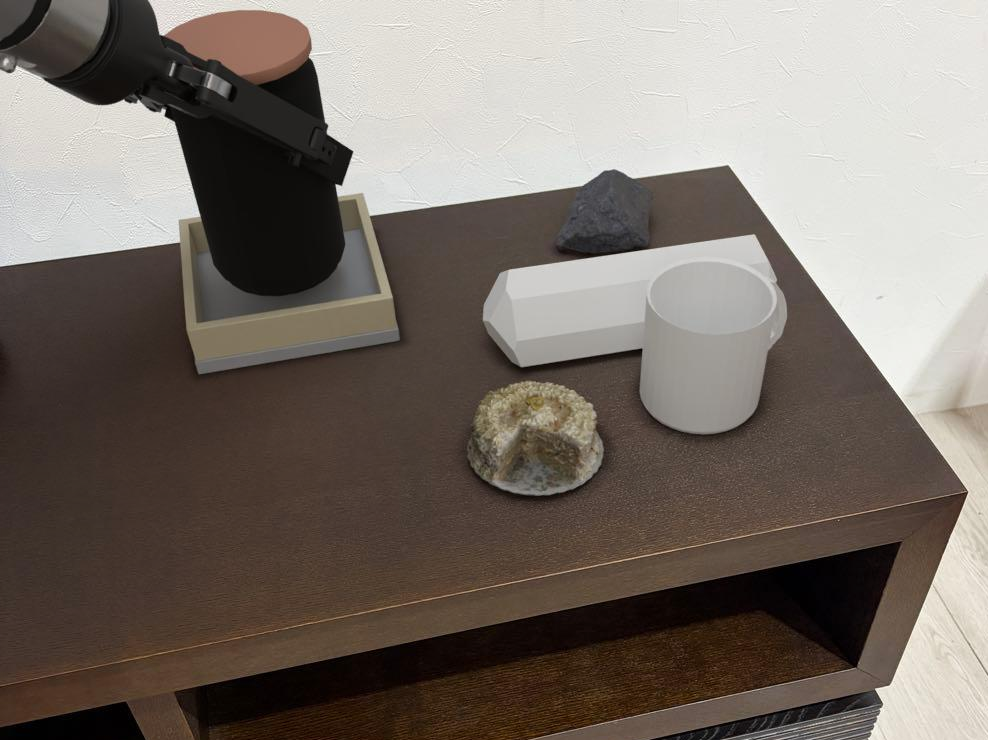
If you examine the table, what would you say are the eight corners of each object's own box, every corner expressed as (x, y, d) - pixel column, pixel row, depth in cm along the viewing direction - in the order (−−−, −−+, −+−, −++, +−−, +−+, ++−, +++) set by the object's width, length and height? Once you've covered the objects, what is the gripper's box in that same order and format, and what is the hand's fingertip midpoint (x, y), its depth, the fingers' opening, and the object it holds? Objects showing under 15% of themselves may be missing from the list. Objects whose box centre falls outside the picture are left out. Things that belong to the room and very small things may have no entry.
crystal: (496, 353, 81) (801, 306, 84) (478, 264, 82) (779, 221, 86) (490, 388, 88) (772, 343, 92) (473, 306, 90) (751, 264, 93)
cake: (455, 424, 83) (450, 365, 79) (583, 404, 84) (584, 345, 80) (481, 510, 76) (477, 449, 72) (621, 486, 77) (623, 425, 73)
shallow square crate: (198, 374, 86) (185, 331, 83) (189, 261, 96) (177, 219, 93) (400, 340, 89) (394, 297, 85) (370, 233, 99) (364, 191, 96)
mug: (672, 449, 80) (683, 348, 73) (619, 375, 85) (625, 274, 78) (814, 406, 83) (838, 304, 76) (754, 337, 88) (771, 237, 81)
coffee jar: (364, 233, 92) (331, 14, 79) (322, 308, 85) (278, 82, 72) (245, 220, 94) (193, 3, 80) (194, 293, 87) (128, 69, 74)
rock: (575, 282, 95) (680, 241, 96) (566, 227, 91) (675, 185, 92) (537, 228, 101) (636, 191, 102) (526, 174, 97) (630, 136, 98)
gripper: (-84, 40, 69) (159, 158, 89) (194, 128, 61) (390, 236, 81) (-50, -80, 68) (187, 68, 88) (237, -6, 60) (424, 138, 80)
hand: (285, 149), depth 85 cm, fingers closed on coffee jar, 11 cm apart
